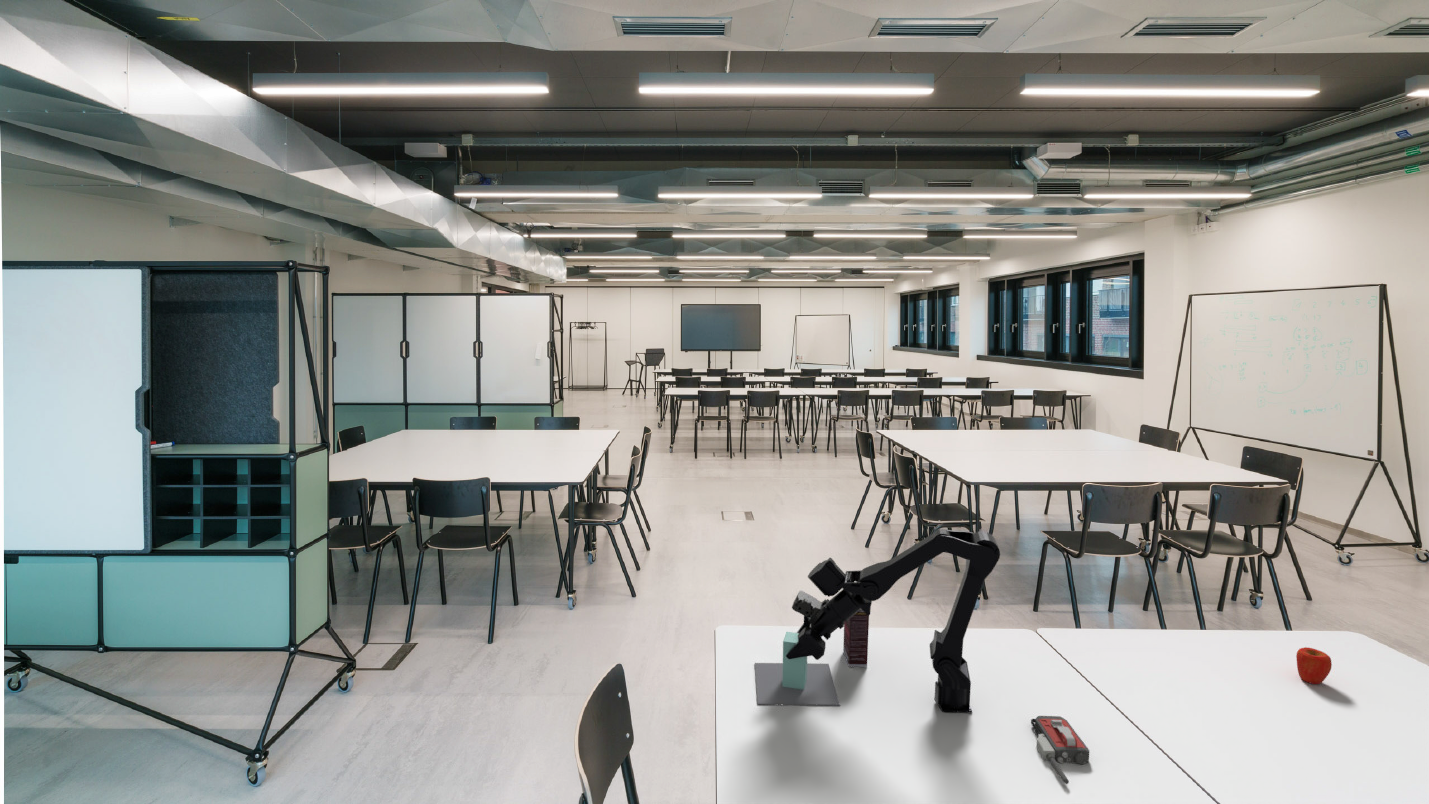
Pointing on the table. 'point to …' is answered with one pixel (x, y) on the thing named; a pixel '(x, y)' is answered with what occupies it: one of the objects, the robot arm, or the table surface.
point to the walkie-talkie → (1059, 742)
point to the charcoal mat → (814, 693)
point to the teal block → (793, 664)
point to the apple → (1313, 665)
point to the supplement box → (856, 639)
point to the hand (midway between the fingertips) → (789, 650)
